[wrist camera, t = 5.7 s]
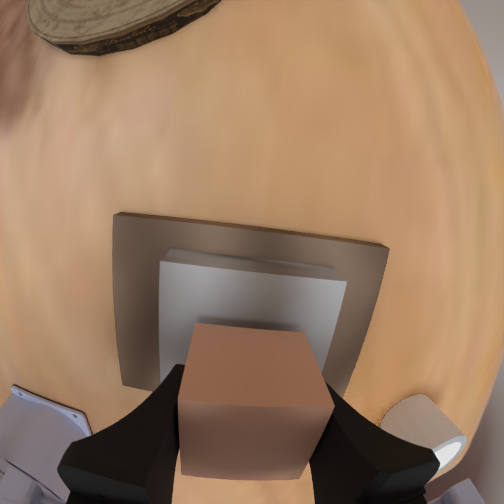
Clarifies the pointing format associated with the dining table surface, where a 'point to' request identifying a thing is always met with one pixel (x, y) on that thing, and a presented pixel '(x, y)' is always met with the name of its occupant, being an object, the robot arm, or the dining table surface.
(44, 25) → the wood slice coaster
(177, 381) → the robot arm
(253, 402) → the terracotta block
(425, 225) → the dining table surface
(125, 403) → the dining table surface
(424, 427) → the grey cup
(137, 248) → the walnut base
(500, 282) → the dining table surface
